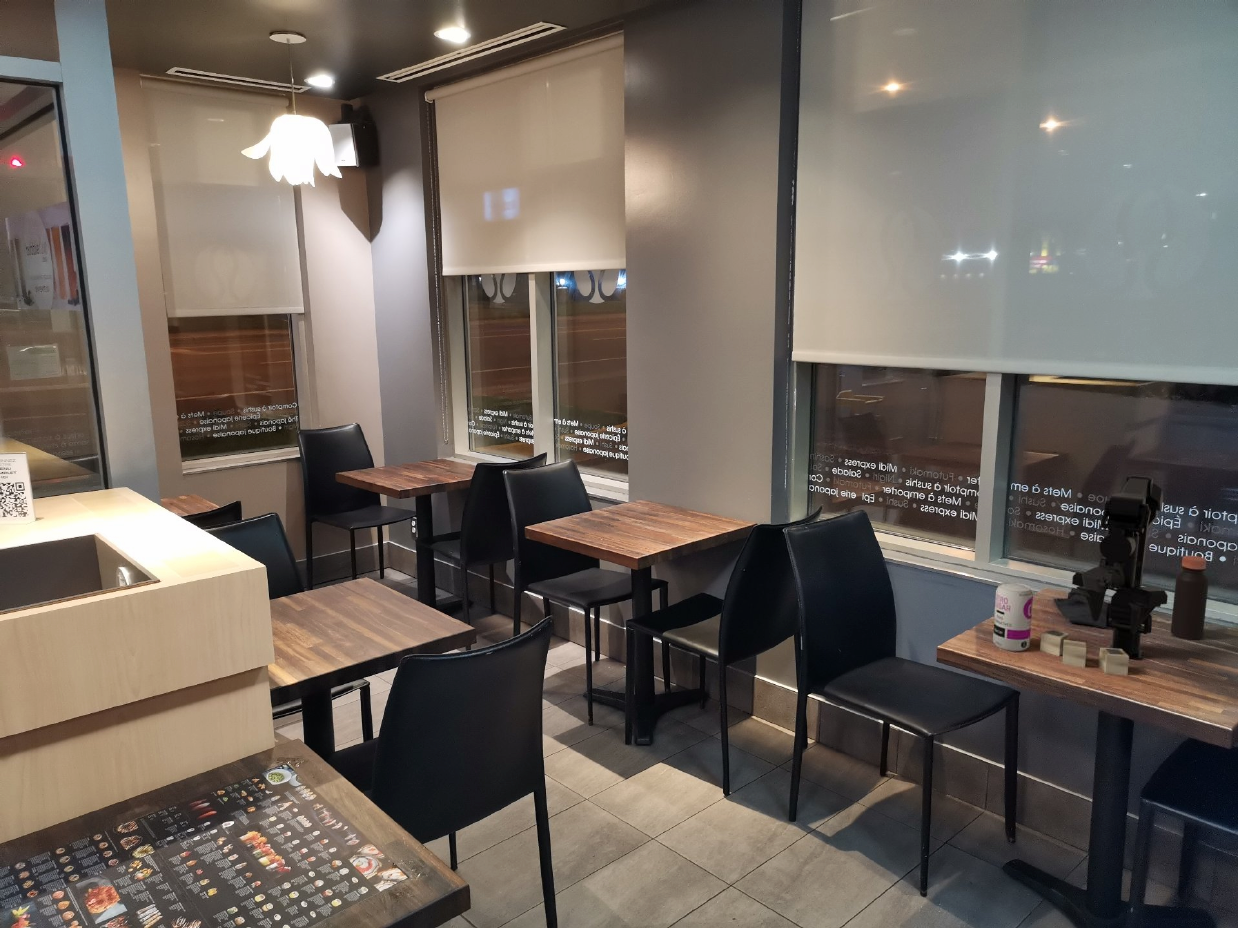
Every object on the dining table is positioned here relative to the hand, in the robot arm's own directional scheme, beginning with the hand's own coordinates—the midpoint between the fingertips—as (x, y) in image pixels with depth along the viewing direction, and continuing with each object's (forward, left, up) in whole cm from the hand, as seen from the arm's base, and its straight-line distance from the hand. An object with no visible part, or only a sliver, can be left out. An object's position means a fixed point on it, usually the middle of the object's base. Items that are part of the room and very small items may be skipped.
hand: (1113, 626), depth 185 cm
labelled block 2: (-11, 0, -14) cm, 17 cm away
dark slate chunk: (-49, -11, -14) cm, 52 cm away
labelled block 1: (-16, -13, -14) cm, 25 cm away
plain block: (-11, -8, -14) cm, 19 cm away
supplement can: (-13, -23, -14) cm, 30 cm away
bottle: (-46, +12, -14) cm, 49 cm away
